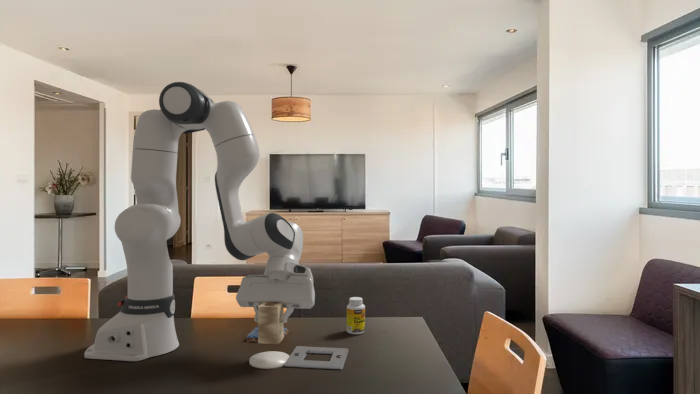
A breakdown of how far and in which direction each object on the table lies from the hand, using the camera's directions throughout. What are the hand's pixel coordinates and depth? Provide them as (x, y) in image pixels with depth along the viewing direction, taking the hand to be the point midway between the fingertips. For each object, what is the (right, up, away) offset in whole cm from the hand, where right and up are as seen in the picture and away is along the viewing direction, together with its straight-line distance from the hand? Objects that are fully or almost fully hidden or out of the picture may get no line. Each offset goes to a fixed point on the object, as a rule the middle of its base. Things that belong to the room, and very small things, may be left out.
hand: (270, 321), depth 109 cm
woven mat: (-4, -11, +19) cm, 23 cm away
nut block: (0, -5, +1) cm, 5 cm away
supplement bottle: (+22, -10, +24) cm, 34 cm away
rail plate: (+12, -10, +2) cm, 16 cm away
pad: (0, -10, +1) cm, 10 cm away
